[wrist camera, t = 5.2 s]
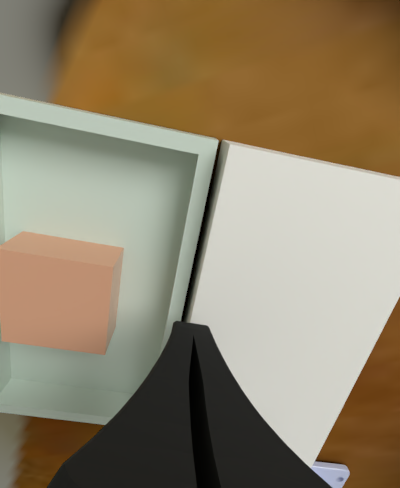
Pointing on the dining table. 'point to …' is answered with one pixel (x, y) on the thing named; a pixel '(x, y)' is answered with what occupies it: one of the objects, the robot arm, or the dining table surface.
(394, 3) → the dining table surface
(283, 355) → the white drawer casing
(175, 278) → the tray
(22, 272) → the terracotta tile
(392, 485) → the dining table surface
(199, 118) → the dining table surface
